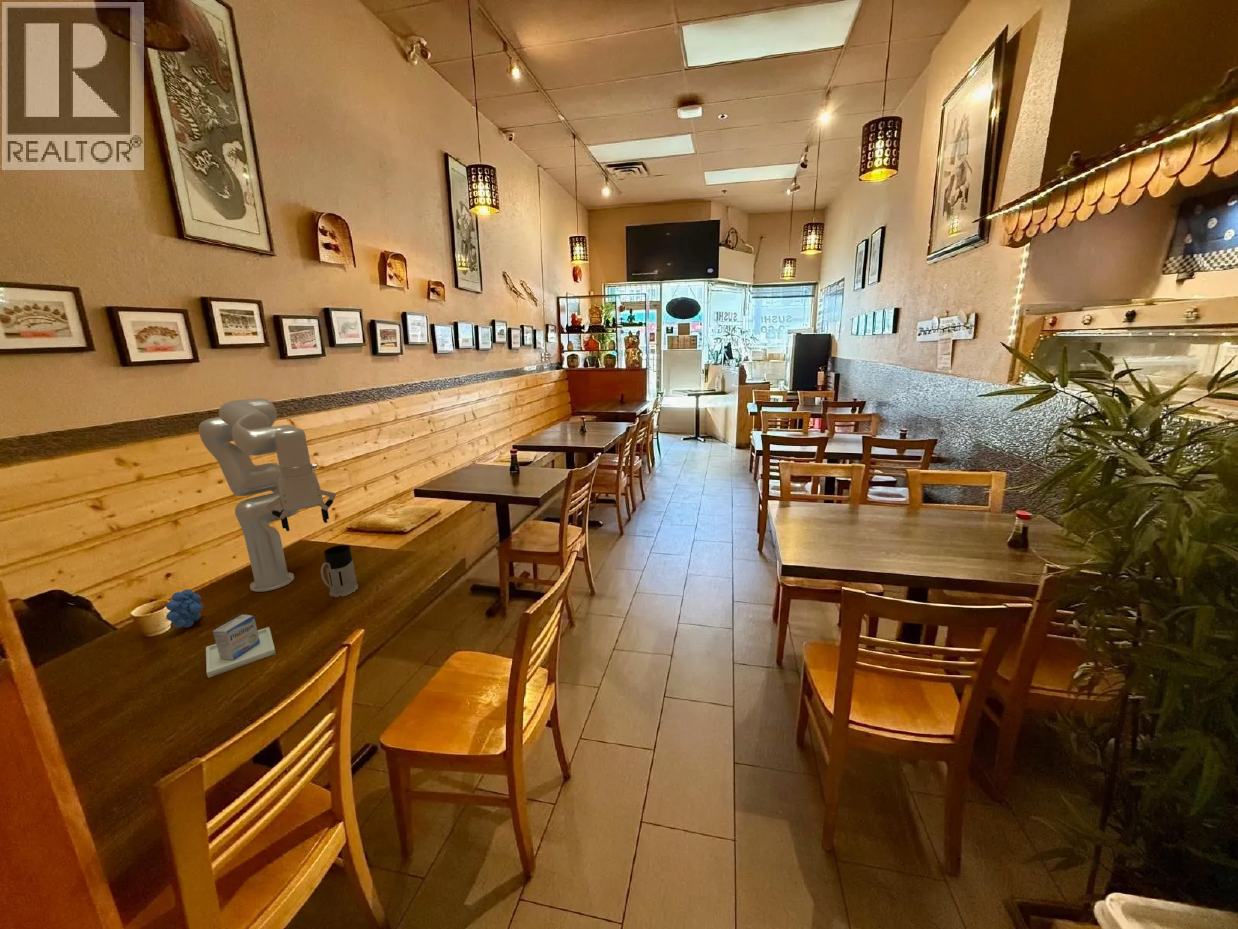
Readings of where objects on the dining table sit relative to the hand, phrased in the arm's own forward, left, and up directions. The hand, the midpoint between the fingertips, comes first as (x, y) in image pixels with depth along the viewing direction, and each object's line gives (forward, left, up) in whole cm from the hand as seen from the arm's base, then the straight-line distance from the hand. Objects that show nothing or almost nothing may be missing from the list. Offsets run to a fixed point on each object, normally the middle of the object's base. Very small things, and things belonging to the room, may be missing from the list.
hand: (306, 525), depth 140 cm
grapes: (-16, -31, -28) cm, 45 cm away
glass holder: (-7, +6, -28) cm, 30 cm away
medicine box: (+10, -21, -28) cm, 36 cm away
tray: (+10, -21, -28) cm, 37 cm away
